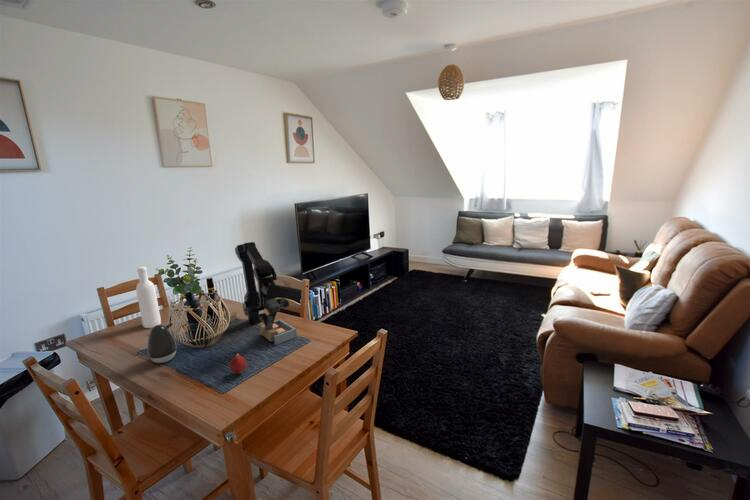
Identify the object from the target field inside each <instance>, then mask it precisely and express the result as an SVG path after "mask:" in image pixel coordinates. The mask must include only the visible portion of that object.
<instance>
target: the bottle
mask: <svg viewBox="0 0 750 500" xmlns="http://www.w3.org/2000/svg"><path fill="white" fill-rule="evenodd" d="M136 270H137V275H138V279H139V282H138V283H137V284H136V287H135V291H136V297H137V301H138V307H139V312H140V317H141V325H142V327H143V328H144V329H145V328H146V329H152V328H153V327H154V326H156V325H162V318H161V313H160V307H159V302H158V298H157V291H156V288H155V287H156V286H155V283H153V282H152V281H151V280H149V275H148V269H147V266H138V267H137V268H136Z"/></svg>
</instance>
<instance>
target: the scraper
mask: <svg viewBox="0 0 750 500" xmlns="http://www.w3.org/2000/svg"><path fill="white" fill-rule="evenodd" d="M266 322H267V326H265V325H264V324H260V325H259V326H260V327H259V334H260V335H261V336H262V337H263V338H265V339H267V341H270V342H273V343H274V336H275V335H278V331H276V330H275V329H273V315H271V314H270V313H269V314H266Z"/></svg>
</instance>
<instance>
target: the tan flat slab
mask: <svg viewBox="0 0 750 500" xmlns="http://www.w3.org/2000/svg"><path fill="white" fill-rule="evenodd" d="M231 313H232V314H231V321H230V323H232V322H233V321H234V320H235V319H237V318H238V316H237V315H238V314H237V313H238V312H237V311H233V312H231Z"/></svg>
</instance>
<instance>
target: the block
mask: <svg viewBox="0 0 750 500" xmlns="http://www.w3.org/2000/svg"><path fill="white" fill-rule="evenodd" d="M276 331H278V334H281V333H283V332H286V330H284V329H282V328H279V329H276Z"/></svg>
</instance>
